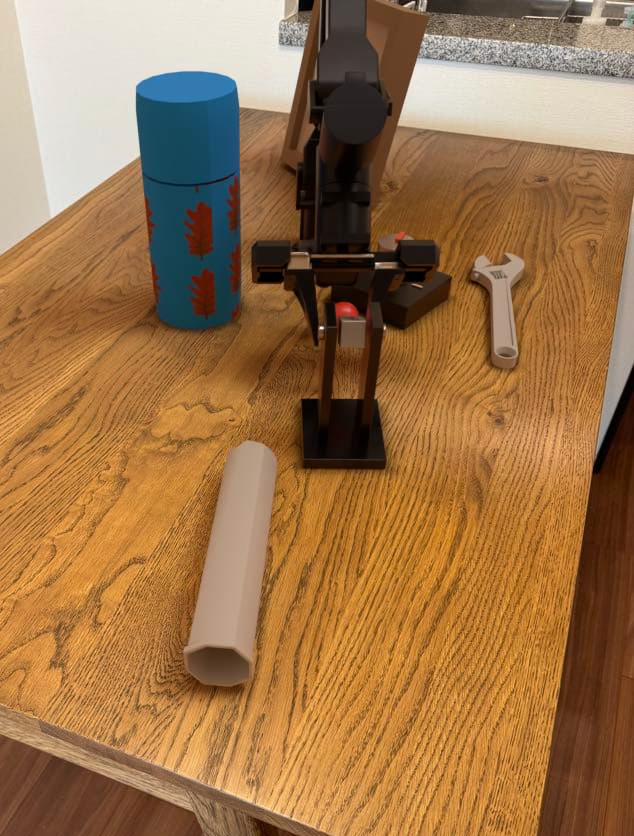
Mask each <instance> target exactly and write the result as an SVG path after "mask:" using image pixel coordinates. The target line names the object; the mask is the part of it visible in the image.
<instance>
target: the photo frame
mask: <svg viewBox="0 0 634 836" xmlns="http://www.w3.org/2000/svg"><path fill="white" fill-rule="evenodd" d="M429 20H430V15H428V14H426V13H422V12H420V11H418V10H415V9H412V8H410V7H407V6H404V5H401V4H398V3H397V2H396V3H395V2H393V1H390V0H367V38H368V39H369V41H370V42H371V44H372V45H373V46H374V48H375V49H376V51H377V52H378V57H379V79H384V82H385V88H386V89H387V91H388V92H389V94H390V97H391V99H392V102H393V107H392V116H387V119H386V123H385V126H384V130H383V133H382V136H381V140H380V143H379V147H378V150H377V153H376V156H375V158H374V160H373V162H372V208H371V210H374V206H375V202H376V198H377V195H378V193H379V188H380V186H381V182H382V178H383V176H384V171H385V168H386V166H387V162H388V158H389V155H390V152H391V149H392V145H393V141H394V138H395V136H396V131H397V128H398V124H399V121H400V117H401V114H402V111H403V107H404V106H405V105H404V104H405V101H406V97H407V94H408V91H409V87H410V84H411V80H412V77H413V74H414V70H415V67H416V64H417V60H418V57H419V53H420V50H421V47H422V45H423V40H424V37H425V33H426V31H427V28H428V24H429ZM319 23H320V0H314V1H313V5H312V10H311V14H310V19H309V23H308V29H307V32H306V38H305V43H304V47H303V52H302V57H301V61H300V66H299V71H298V75H297V80H296V85H295V89H294V94H293V99H292V104H291V108H290V113H289V117H288V122H287V127H286V132H285V136H284V141H283V145H282V151H281V155H280V160H281V161H282V162H283V163H285V164H286V165H288V166H289V167H290V168H292V169H293V170H295V171H296V169H297V161H302V153H303V145H304V143H305V141H306V140H307V138H308V136H309V134H310V132H311V131H312V129H313V127H314V125H313V124H309V123H308V119H307V97H308V81H309V80H314V78H315V68H316V58H317V53H318V49H319Z"/></svg>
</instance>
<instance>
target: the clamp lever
mask: <svg viewBox="0 0 634 836" xmlns="http://www.w3.org/2000/svg"><path fill="white" fill-rule="evenodd" d="M335 307H336V316H337V325H338V330H337V344H338V346H339V348H340V349H363V348H365V335H366V318H365V317H363V316H360V314H359V312H358V311H357V309H356V307H355V306H354V305H352V304H351V303H348V302H339V303H335Z"/></svg>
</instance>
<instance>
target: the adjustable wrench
mask: <svg viewBox="0 0 634 836" xmlns="http://www.w3.org/2000/svg"><path fill="white" fill-rule="evenodd" d="M525 266H526V263H525V261H524V260H523V259H522V258H521V257H519V256H517V255H515V254H513V253H510V252H503V257H502V259H501V265H499V264H498V265H492V262H491V261H490V260H489V259H488V257H486V255H485V254H483V255H479V256H478V257H476V259H475V261H474V265H473V268H472V269H471V273H470V278H469V279H470V280H471V281H473V282H477V283H478V284H480V285H481V286H483V287H484V288H485V289H486V290H487V291H488V294H489V312H490V313H489V315H490V317H489V318H490V353H491V354H490V355H491V359H490V360H491V364H492V365H493V366H495V367H496V368H499V369H503V370H505V369H506V370H507V369H508V370H509V369H512V368H515V366H516V363H517V359H518V356H519V348H518V340H517V331H516V323H515V316H514V308H513V299H512V292H511V289H512V288H513V287H514V286H515V284H517V282H519V281H520V280H521V279H522V277H523V274H524V270H525Z"/></svg>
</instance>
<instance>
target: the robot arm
mask: <svg viewBox="0 0 634 836" xmlns="http://www.w3.org/2000/svg"><path fill="white" fill-rule="evenodd" d="M392 107H393V102H392V99H391V97H390V94H389V92H388V91H387V89H386V88H385V82H384V79H379V57H378V52H377V51H376V49H375V48H374V46H373V45H372V44H371V42H370V41H369V39H368V38H367V0H320V23H319V49H318V53H317V58H316V68H315V78H314V80H309V81H308V97H307V119H308V123H309V124H313V125H314V127H313V129H312V131H311V132H310V134H309V136H308V138H307V140H306V141H305V143H304V145H303V153H302V161H297V169H296V170H295V182H294V183H295V186H294V203H295V204H294V205H295V211H300V213H299V214H300V217H299V218H300V219H299V238H298V239H299V240H298V241H297V242H294V243H293V244H292V245H291V240H290V239H287V240H286V239H285V240H284V239H277V240H276V239H274V240H271V239H270V240H269V239H266V240H265V239H264V240H262V239H261V240H259V239H258V240H256V241H255V242H254V243H253V245H251V250H250V251H251V252H250V253H251V254H250V256H251V257H250V269H251V283H252V284H255V285H282V284H283V291H285V292H292V293H293V295H294V296H295V297H296V298H297V301H298V303H299V305H300V307H301V309H302V311H303V314H304V318H305V321H306V325H307V327H308V331H309V334H310V338H311V340H312V344H313V347H314V348H318V347H319V344H320V340H318V325H319V324H320V322H319V311H318V300H317V299H318V298H317V289H316V288H317V287H318V288H320V289H327V288H329V287H330V288H331V286H343V287H345V288H352V287H355V286H356V285H357V284H358V282H359V275H360V272H373V279H372V281H371V284H370V286H369V297H368V302H379V303H380V308H381V306H382V304H383V301H384V299H385V297H386V295H387V292H388V291H395V290H397V289H398V287H399V285H400V284H424V283H428V282H429V281H430V280H431V278H432V277H433V275H434V274H435V272H436V271H438V269H439V268H440V264H441V258H440V257H441V249H440V246H439V244H438V243H437V242H436V240H435V239H414V240H400V241H399V243H398V245H397V247H396V249H395V251H394V252H377V251H372V209H371V208H372V162H373V160H374V158H375V156H376V153H377V150H378V147H379V143H380V140H381V136H382V133H383V130H384V126H385V123H386V119H387V116H392ZM291 249H292V250H294V251H291ZM367 310H368V305H367ZM366 319H367V313H366V315H365V320H366Z"/></svg>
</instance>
